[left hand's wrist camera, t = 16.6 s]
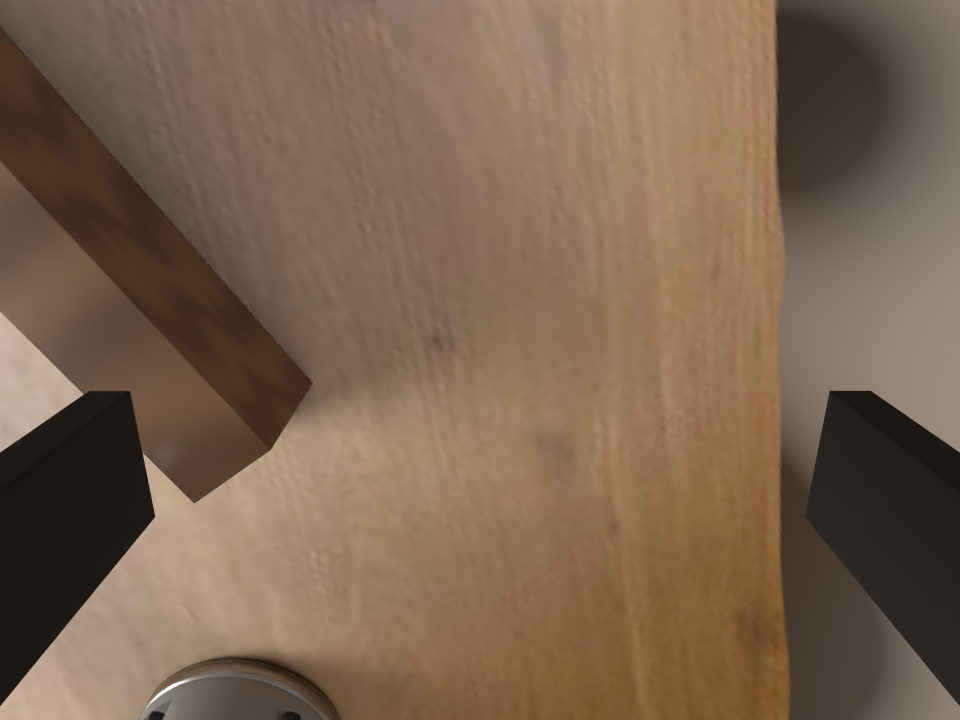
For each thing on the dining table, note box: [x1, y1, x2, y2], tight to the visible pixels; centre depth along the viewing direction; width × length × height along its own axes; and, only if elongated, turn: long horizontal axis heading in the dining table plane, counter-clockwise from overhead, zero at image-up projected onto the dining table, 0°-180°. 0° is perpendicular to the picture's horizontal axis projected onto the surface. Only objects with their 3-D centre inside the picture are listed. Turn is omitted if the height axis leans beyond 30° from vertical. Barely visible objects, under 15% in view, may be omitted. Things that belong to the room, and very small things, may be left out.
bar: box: [0, 28, 312, 503], centre depth 33 cm, size 26×5×9 cm, turn 36°
